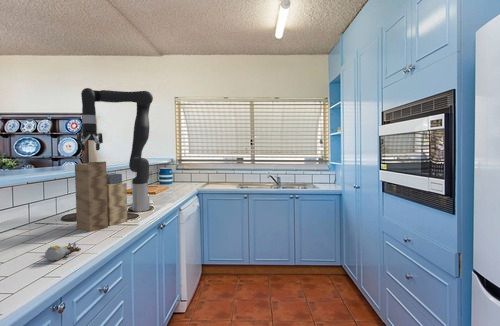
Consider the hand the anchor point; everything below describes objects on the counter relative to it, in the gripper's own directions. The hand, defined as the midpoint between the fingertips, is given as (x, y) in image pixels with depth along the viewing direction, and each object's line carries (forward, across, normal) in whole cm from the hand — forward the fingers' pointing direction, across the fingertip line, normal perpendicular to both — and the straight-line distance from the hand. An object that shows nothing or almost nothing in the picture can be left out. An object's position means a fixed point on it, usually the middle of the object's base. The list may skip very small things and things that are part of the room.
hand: (90, 150), depth 180 cm
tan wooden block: (+38, +5, +28) cm, 48 cm away
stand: (+38, +17, +30) cm, 51 cm away
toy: (+38, +44, +58) cm, 82 cm away
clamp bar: (+17, +5, +22) cm, 28 cm away
